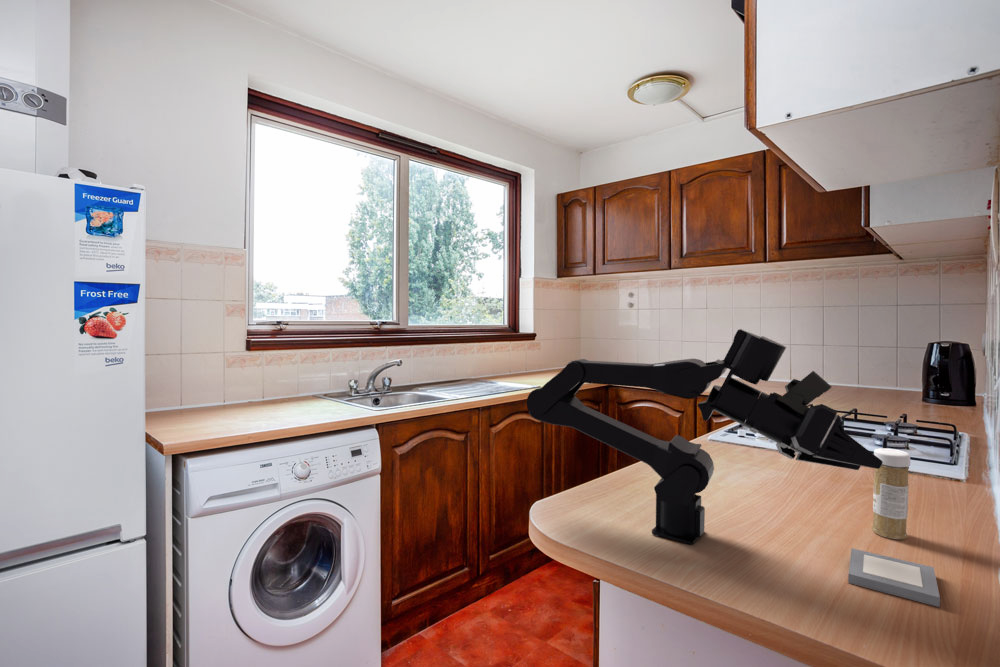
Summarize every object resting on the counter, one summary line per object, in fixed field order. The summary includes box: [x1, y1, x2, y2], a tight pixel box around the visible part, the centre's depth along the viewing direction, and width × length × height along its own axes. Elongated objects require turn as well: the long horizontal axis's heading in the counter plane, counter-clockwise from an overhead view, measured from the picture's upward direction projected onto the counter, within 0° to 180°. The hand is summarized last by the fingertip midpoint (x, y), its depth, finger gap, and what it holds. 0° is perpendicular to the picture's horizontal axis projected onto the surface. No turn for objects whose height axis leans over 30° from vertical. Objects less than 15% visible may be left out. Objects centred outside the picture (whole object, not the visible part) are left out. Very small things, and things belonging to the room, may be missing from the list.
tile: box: [847, 547, 941, 608], centre depth 66 cm, size 9×9×1 cm
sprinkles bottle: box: [871, 447, 911, 540], centre depth 79 cm, size 5×5×14 cm
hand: (869, 466), depth 67 cm, fingers open, 9 cm apart
